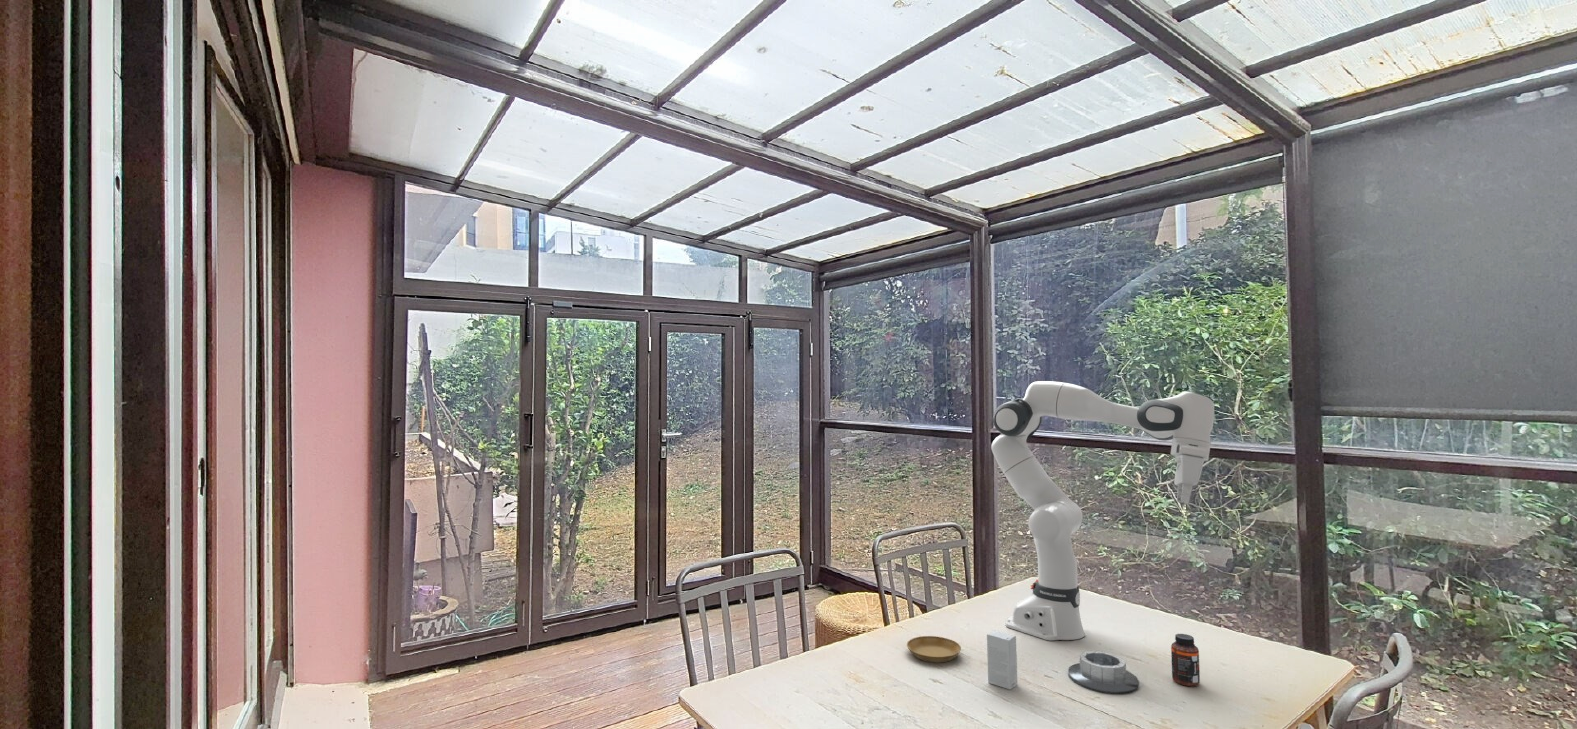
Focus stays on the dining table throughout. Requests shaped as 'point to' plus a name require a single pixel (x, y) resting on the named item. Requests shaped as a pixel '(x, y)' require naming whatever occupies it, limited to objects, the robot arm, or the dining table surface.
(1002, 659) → the skincare box
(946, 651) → the plant saucer
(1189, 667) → the supplement bottle
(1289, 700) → the dining table surface
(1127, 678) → the duct collar
